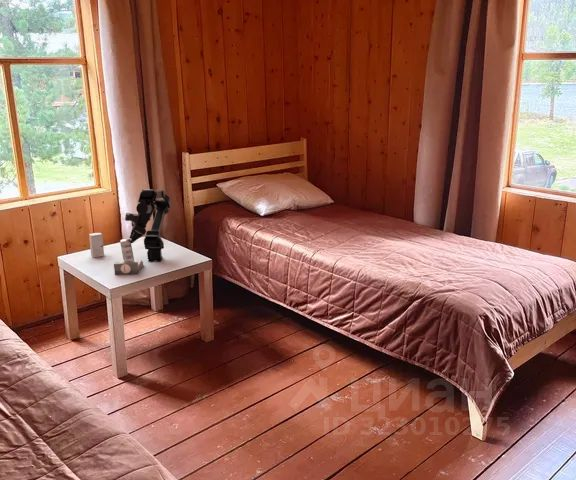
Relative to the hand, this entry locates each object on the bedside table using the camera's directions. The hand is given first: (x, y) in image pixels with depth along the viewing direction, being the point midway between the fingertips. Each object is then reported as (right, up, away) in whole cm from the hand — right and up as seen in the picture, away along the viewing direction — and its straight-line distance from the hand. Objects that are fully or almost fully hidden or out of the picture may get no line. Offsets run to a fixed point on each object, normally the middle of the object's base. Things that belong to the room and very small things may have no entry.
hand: (130, 240), depth 279 cm
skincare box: (-23, -8, +18) cm, 30 cm away
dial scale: (0, -14, -3) cm, 15 cm away
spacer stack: (0, -11, -3) cm, 12 cm away
